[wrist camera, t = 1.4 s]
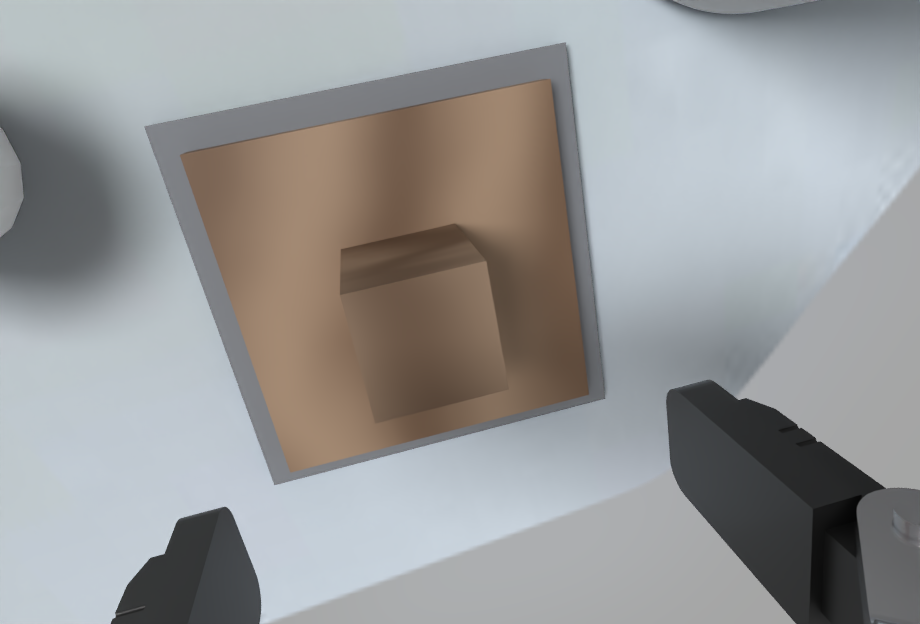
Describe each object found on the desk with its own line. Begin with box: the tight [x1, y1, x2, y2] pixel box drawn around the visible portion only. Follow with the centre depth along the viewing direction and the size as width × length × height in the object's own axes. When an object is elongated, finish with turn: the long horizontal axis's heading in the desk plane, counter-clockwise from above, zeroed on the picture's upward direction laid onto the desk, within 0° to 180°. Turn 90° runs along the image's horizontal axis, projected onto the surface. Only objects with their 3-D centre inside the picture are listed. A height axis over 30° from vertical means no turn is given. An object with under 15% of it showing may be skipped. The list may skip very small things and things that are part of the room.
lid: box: [180, 79, 589, 473], centre depth 20 cm, size 12×12×6 cm
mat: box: [145, 42, 605, 485], centre depth 23 cm, size 14×14×1 cm
